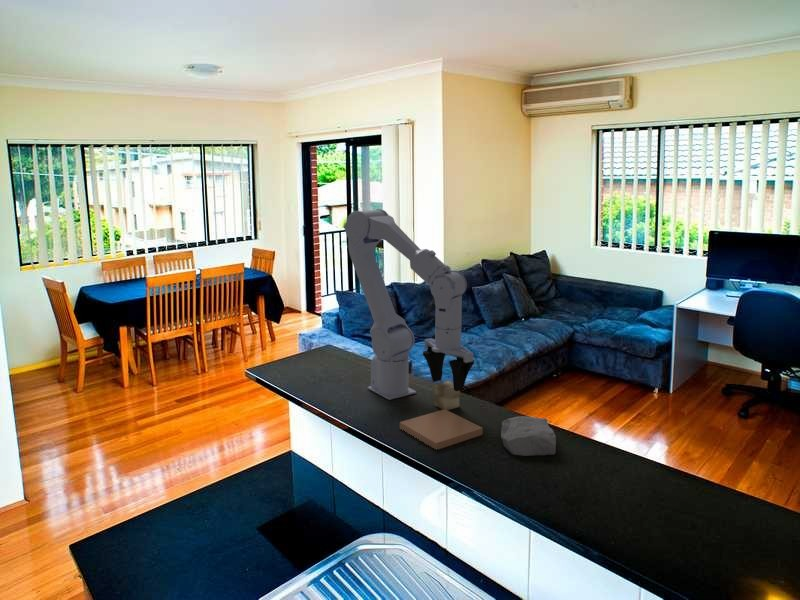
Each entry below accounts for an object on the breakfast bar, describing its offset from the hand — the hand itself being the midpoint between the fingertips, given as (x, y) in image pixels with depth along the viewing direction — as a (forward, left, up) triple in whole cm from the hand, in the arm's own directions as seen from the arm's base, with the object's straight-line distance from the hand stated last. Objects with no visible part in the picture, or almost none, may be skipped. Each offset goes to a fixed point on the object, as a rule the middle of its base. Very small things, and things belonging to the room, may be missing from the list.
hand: (447, 385), depth 135 cm
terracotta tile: (+10, -10, -6) cm, 15 cm away
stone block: (+23, 0, -6) cm, 24 cm away
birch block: (0, 0, -5) cm, 5 cm away
